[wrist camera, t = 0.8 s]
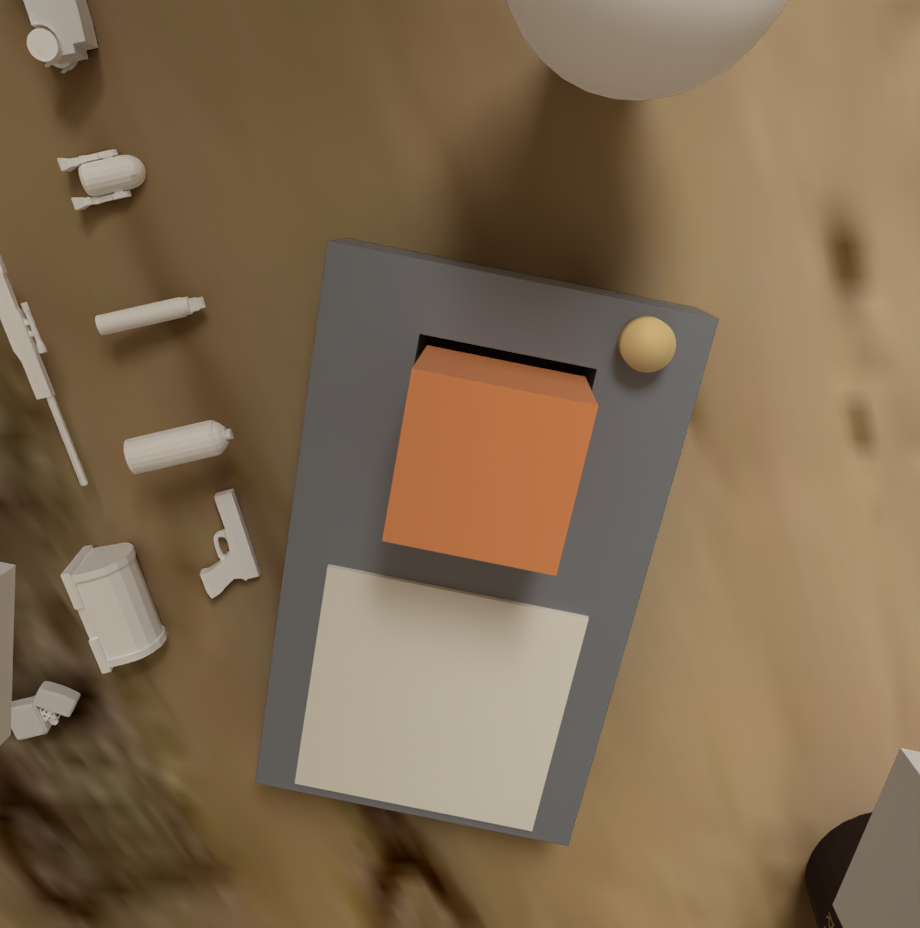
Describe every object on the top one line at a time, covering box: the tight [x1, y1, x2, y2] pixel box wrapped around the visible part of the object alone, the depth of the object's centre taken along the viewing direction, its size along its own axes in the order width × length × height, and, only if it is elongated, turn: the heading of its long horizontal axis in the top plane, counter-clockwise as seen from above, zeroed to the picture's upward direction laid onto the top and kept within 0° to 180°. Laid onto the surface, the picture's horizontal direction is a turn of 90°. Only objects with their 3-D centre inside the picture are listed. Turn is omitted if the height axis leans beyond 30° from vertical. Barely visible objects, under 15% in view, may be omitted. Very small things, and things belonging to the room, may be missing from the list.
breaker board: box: [255, 238, 719, 846], centre depth 28 cm, size 20×12×4 cm, turn 169°
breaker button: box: [382, 345, 598, 576], centre depth 24 cm, size 5×5×4 cm
